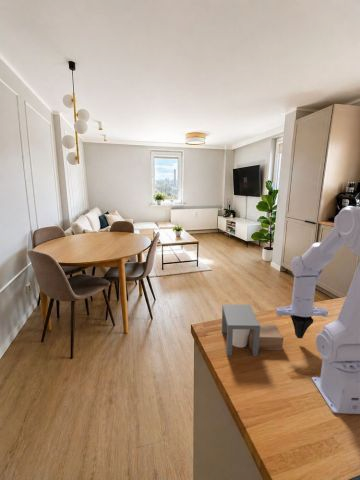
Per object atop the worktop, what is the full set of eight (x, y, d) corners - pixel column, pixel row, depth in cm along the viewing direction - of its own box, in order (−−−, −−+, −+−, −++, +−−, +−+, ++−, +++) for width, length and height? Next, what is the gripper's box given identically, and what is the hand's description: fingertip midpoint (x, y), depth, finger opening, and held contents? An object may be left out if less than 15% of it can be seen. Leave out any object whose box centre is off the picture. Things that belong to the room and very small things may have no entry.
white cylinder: (248, 336, 77) (249, 316, 75) (250, 350, 70) (251, 329, 69) (227, 333, 78) (227, 315, 77) (227, 347, 71) (228, 327, 70)
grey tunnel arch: (258, 355, 68) (260, 325, 66) (227, 355, 68) (228, 325, 66) (248, 331, 79) (249, 304, 77) (221, 330, 80) (222, 304, 78)
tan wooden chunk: (282, 350, 70) (283, 337, 69) (249, 350, 71) (250, 336, 70) (274, 336, 77) (275, 324, 76) (244, 335, 77) (245, 323, 76)
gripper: (320, 290, 73) (315, 328, 76) (273, 290, 74) (270, 328, 77) (334, 300, 66) (328, 343, 69) (282, 300, 67) (278, 342, 70)
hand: (298, 336), depth 72 cm, fingers closed
